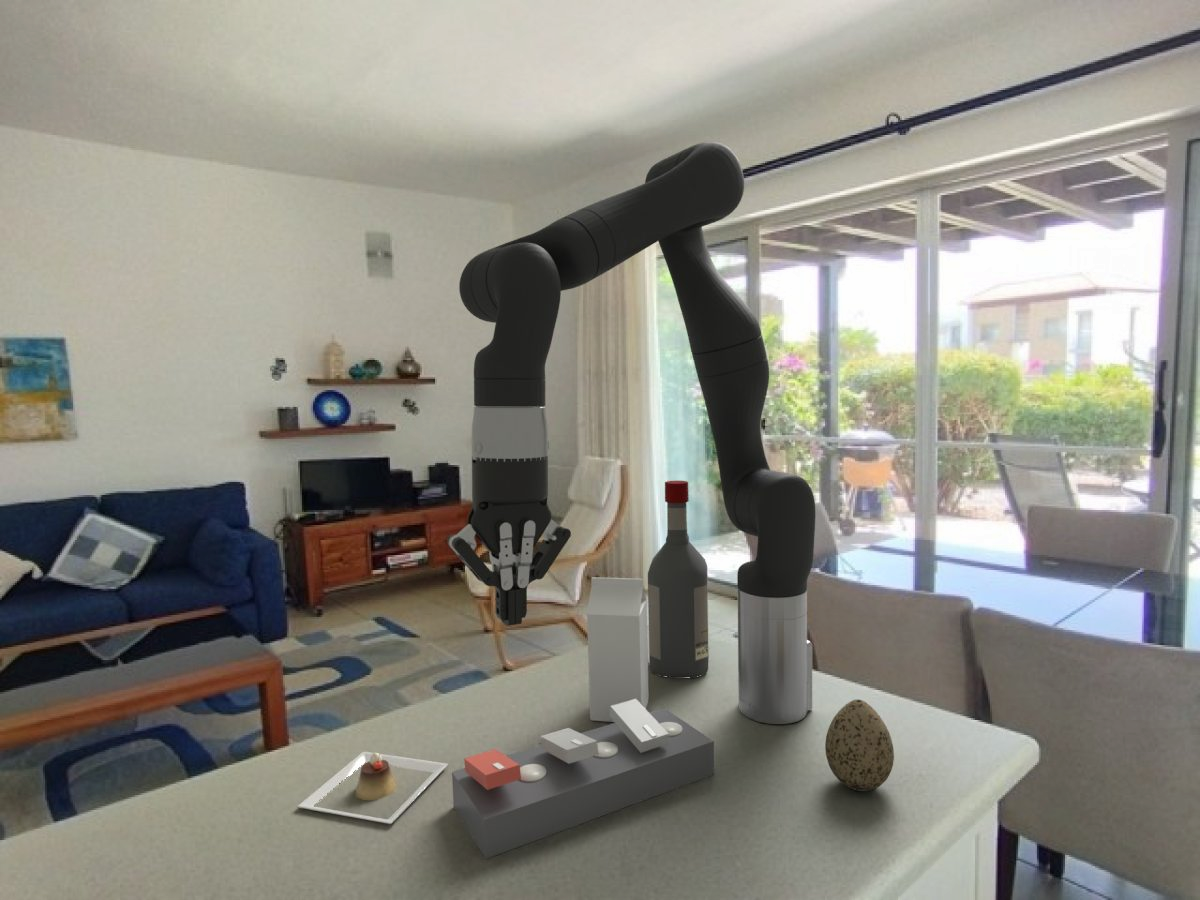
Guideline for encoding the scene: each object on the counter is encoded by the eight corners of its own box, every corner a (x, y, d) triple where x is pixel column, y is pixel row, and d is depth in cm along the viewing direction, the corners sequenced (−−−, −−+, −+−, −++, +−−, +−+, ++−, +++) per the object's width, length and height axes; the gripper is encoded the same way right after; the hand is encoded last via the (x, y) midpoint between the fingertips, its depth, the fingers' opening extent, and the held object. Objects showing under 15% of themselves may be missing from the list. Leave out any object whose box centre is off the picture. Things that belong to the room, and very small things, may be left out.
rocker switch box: (665, 737, 91) (664, 706, 90) (714, 774, 82) (713, 739, 81) (453, 806, 77) (451, 770, 76) (485, 858, 68) (483, 817, 68)
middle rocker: (570, 740, 82) (568, 726, 82) (598, 754, 76) (596, 739, 76) (541, 748, 80) (540, 735, 80) (568, 763, 74) (567, 748, 74)
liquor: (648, 677, 109) (644, 486, 107) (653, 655, 118) (650, 478, 116) (708, 680, 108) (705, 486, 105) (708, 657, 117) (706, 478, 114)
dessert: (391, 833, 73) (389, 790, 73) (296, 816, 77) (293, 774, 77) (449, 772, 85) (447, 734, 84) (363, 759, 88) (361, 723, 88)
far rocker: (634, 708, 86) (636, 697, 86) (667, 744, 80) (668, 732, 80) (609, 716, 84) (610, 705, 84) (640, 752, 78) (642, 741, 78)
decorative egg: (815, 791, 78) (815, 704, 77) (837, 762, 84) (837, 681, 83) (882, 813, 74) (883, 722, 73) (901, 782, 79) (902, 696, 78)
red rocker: (497, 762, 77) (495, 748, 77) (521, 779, 71) (519, 763, 71) (465, 771, 76) (463, 757, 76) (487, 789, 69) (485, 774, 70)
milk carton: (641, 725, 94) (638, 586, 92) (589, 721, 96) (585, 584, 94) (648, 701, 101) (646, 572, 99) (600, 698, 102) (596, 570, 101)
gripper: (554, 447, 76) (554, 604, 78) (433, 451, 70) (436, 622, 71) (586, 452, 70) (586, 623, 71) (456, 457, 63) (458, 645, 65)
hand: (510, 622), depth 71 cm, fingers closed
